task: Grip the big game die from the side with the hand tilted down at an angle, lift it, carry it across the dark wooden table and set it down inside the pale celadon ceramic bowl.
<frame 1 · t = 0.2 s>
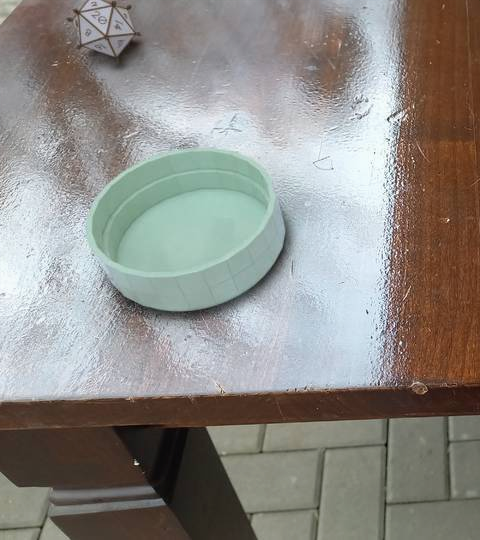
game die: (116, 54, 97), on the table
bowl: (199, 246, 74), on the table
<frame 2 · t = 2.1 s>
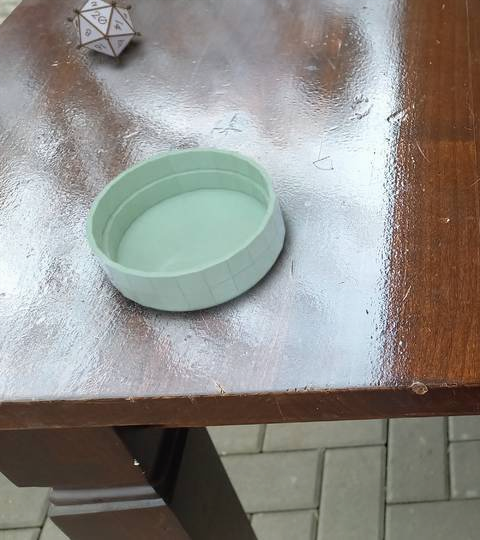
nothing on the table moved.
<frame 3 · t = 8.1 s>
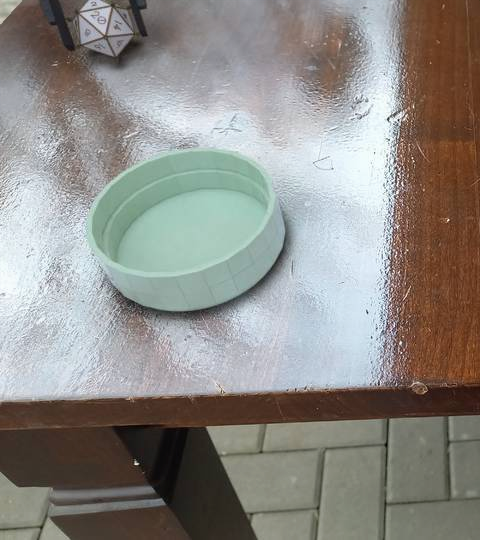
hand: (107, 40, 92), 4 cm above the table, tool tilted 45°, fingers closed on game die, 8 cm apart
game die: (115, 54, 97), on the table, touching gripper
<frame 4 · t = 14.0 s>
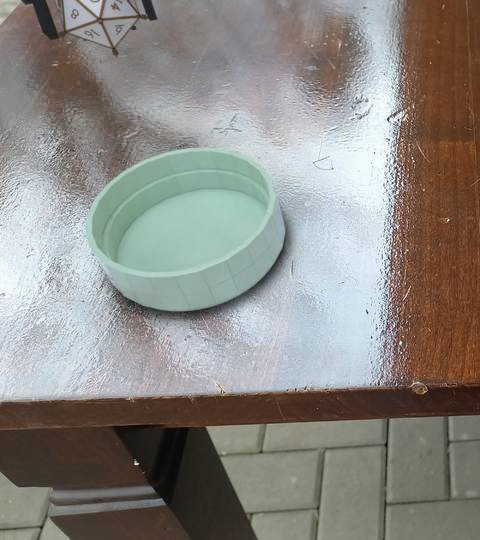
hand: (102, 25, 67), 19 cm above the table, tool tilted 45°, fingers closed on game die, 8 cm apart
game die: (113, 44, 72), point 15 cm above the table, touching gripper
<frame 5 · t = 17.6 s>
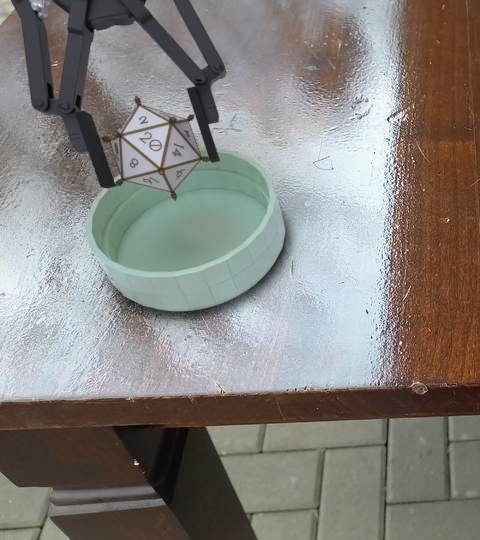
hand: (162, 173, 62), 13 cm above the table, tool tilted 45°, fingers closed on game die, 8 cm apart
game die: (170, 182, 67), point 9 cm above the table, touching gripper
when the fingers open (5 cm above the table, at t = 20.5 s): game die stays where it is, resting on bowl.
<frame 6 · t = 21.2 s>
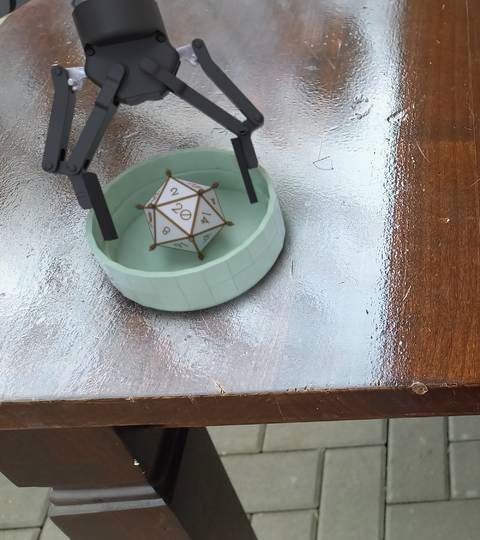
hand: (185, 221, 68), 6 cm above the table, tool tilted 45°, fingers open, 13 cm apart
game die: (197, 242, 74), point 1 cm above the table, touching bowl
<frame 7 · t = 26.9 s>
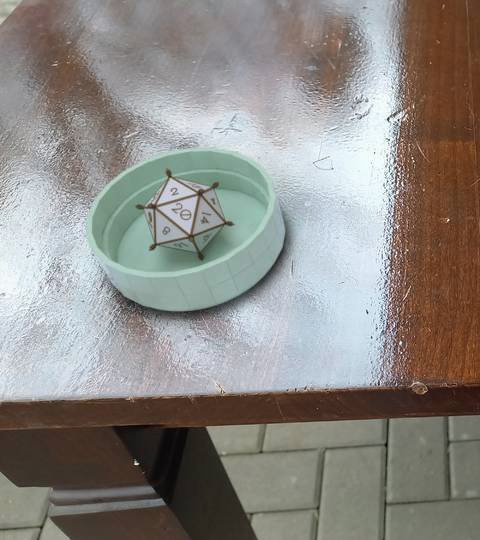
nothing on the table moved.
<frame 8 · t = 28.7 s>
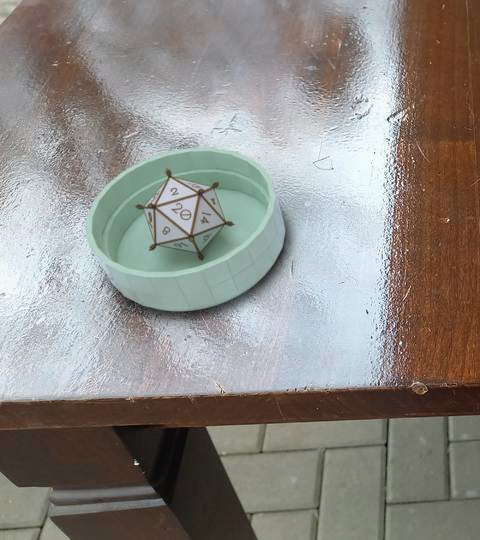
nothing on the table moved.
at the end: game die inside the target area in the bowl (0.1 cm from its centre), point 0.6 cm above the bowl's base; the gripper is holding nothing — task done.
